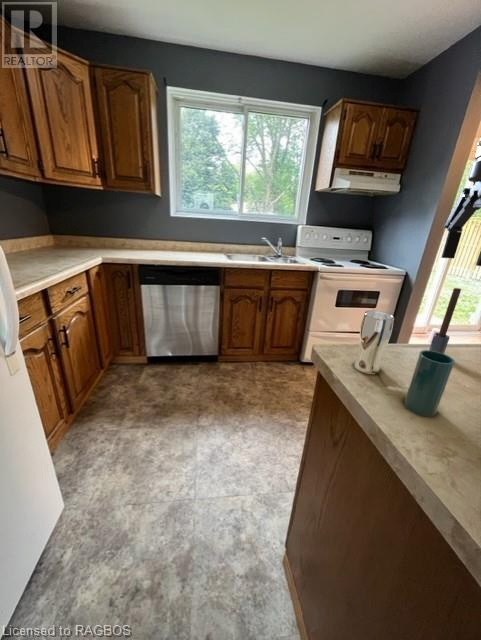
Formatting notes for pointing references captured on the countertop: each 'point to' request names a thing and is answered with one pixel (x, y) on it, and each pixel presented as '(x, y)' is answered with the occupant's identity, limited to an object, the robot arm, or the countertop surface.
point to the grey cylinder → (439, 343)
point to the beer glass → (373, 340)
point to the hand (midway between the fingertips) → (463, 261)
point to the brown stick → (449, 312)
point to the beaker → (428, 382)
